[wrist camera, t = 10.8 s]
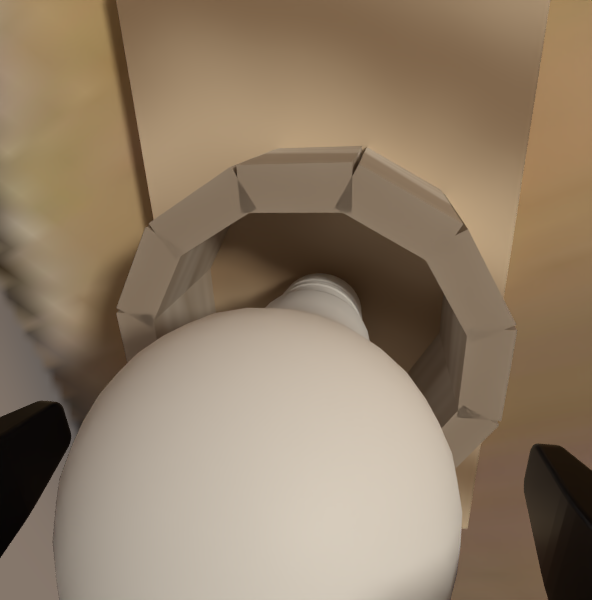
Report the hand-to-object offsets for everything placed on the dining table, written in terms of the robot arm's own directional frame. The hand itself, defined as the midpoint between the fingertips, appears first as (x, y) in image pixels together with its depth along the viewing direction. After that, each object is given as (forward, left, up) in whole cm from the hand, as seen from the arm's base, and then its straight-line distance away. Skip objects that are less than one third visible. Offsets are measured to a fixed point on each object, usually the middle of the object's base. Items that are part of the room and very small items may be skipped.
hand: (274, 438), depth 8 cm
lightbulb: (0, 0, -7) cm, 7 cm away
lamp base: (0, 0, -8) cm, 8 cm away
